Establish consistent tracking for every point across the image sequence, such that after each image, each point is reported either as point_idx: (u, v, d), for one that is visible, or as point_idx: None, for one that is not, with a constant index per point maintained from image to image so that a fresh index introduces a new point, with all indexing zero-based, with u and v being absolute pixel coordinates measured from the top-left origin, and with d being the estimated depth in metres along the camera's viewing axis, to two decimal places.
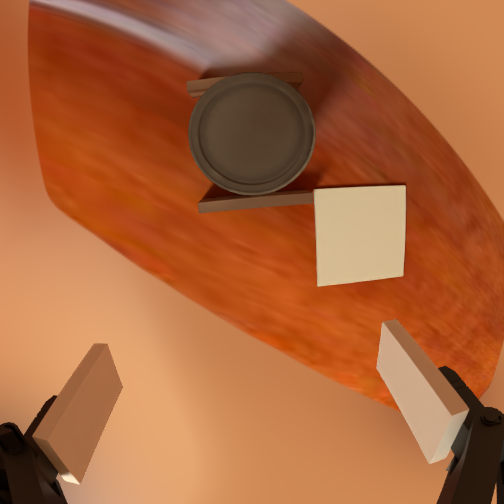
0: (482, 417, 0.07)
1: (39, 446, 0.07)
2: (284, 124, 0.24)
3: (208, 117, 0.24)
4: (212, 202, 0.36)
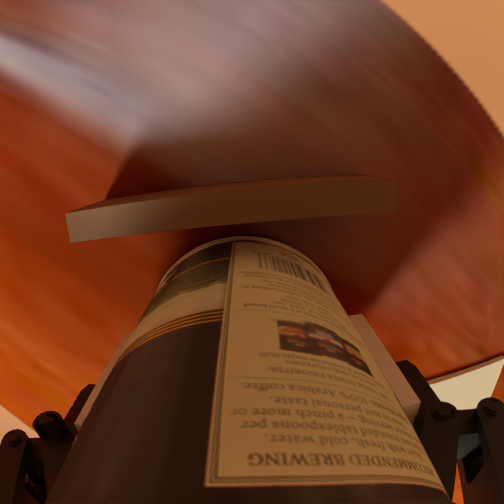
0: (433, 412, 0.08)
1: None
2: None
3: None
4: None
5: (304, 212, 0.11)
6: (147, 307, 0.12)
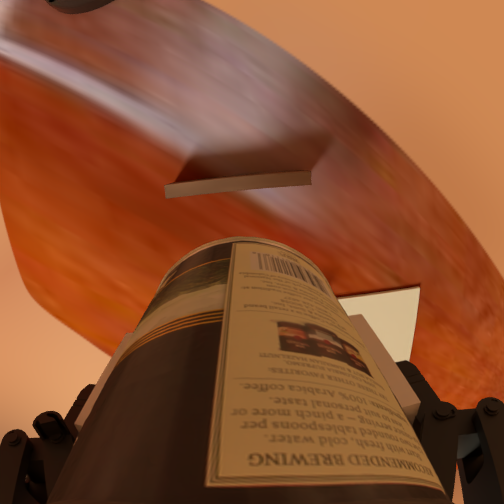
0: (433, 412, 0.08)
1: None
2: None
3: None
4: None
5: (269, 185, 0.28)
6: (147, 308, 0.12)
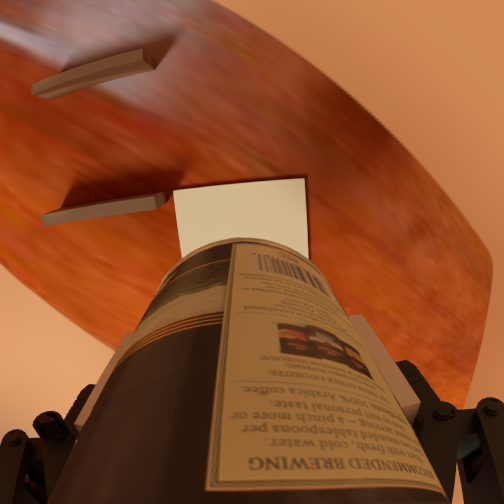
0: (434, 412, 0.08)
1: None
2: None
3: None
4: (53, 213, 0.27)
5: (106, 66, 0.24)
6: (147, 309, 0.12)
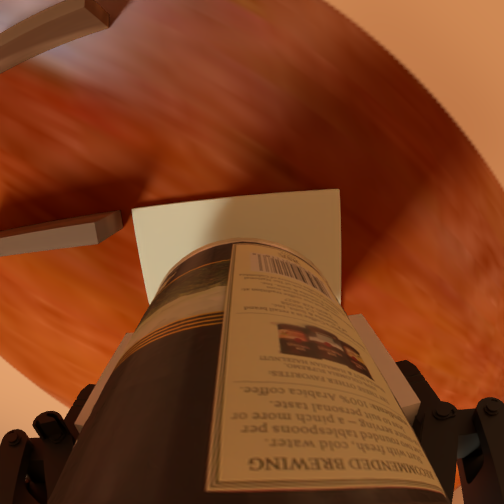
0: (433, 412, 0.08)
1: None
2: None
3: None
4: None
5: (34, 25, 0.12)
6: (147, 309, 0.12)
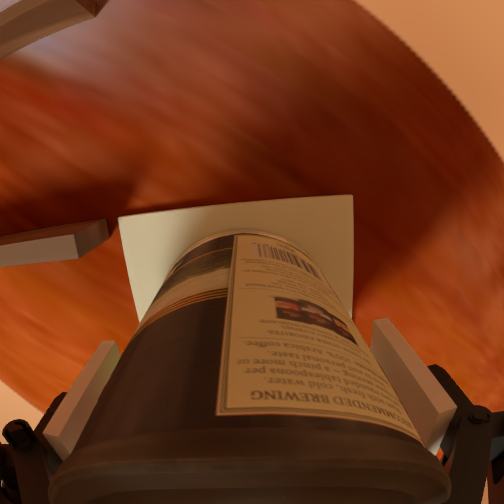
0: (470, 415, 0.07)
1: (49, 443, 0.08)
2: None
3: None
4: None
5: (14, 16, 0.10)
6: (157, 293, 0.13)
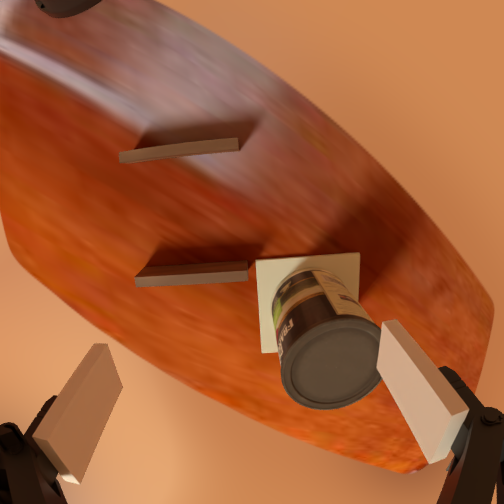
0: (482, 417, 0.07)
1: (39, 446, 0.07)
2: (366, 360, 0.26)
3: (300, 358, 0.26)
4: (147, 277, 0.35)
5: (202, 150, 0.32)
6: (285, 294, 0.35)
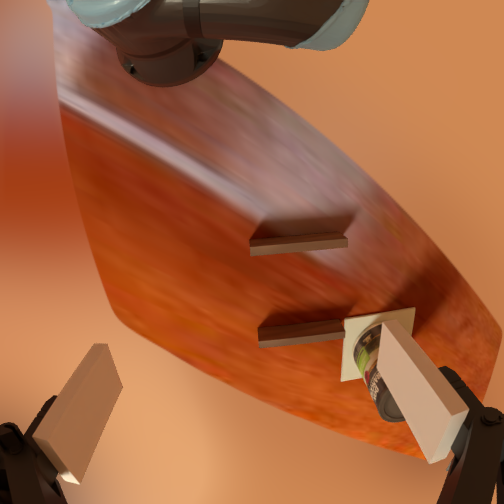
0: (482, 417, 0.07)
1: (39, 446, 0.07)
2: None
3: (391, 394, 0.37)
4: (270, 341, 0.45)
5: (321, 248, 0.41)
6: (370, 345, 0.45)
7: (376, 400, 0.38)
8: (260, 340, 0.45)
